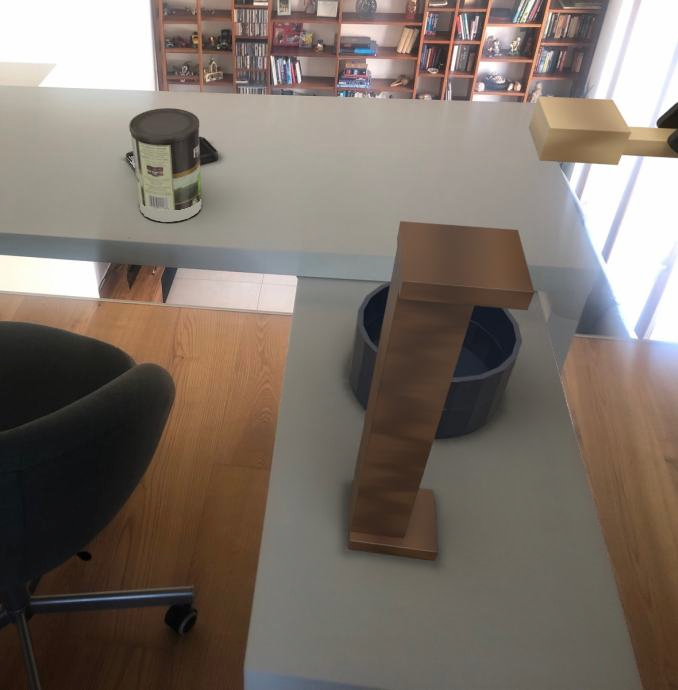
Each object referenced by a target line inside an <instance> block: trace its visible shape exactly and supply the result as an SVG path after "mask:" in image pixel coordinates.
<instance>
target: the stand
mask: <svg viewBox="0 0 678 690" xmlns="http://www.w3.org/2000/svg"><path fill="white" fill-rule="evenodd" d="M390 277H391V278H390V281H389V282H390V288H389V293H388V298H387V304H386V309H385V314H384V320H383V325H382V330H381V335H380V341H379V346H378V351H377V357H376V362H375V367H374V372H373V378H372V383H371V388H370V394H369V399H368V404H367V410H365V416H364V421H363V425H362V431H361V436H360V440H359V441H360V442H359V447H358V452H357V458H356V464H355V468H354V473H353V478H352V480H351V483H350V487H349V488H350V489H349V492H350V493H349V513H348V515H349V518H348V541H347V543H348V544H347V549H349V550H355V551H361V552H369V553H376V554H383V555H391V556H397V557H406V558H413V559H420V560H427V561H436V559H437V556H438V553H439V552H438V550H439V549H438V538H437V536H438V535H437V524H436V508H435V494H434V490H433V489H427V488H421V487H420V486H421V484H422V480H423V477H424V474H425V470H426V467H427V464H428V461H429V458H430V453H431V451H432V447H433V444H434V441H435V438H434V437H435V434H436V431H437V427H438V424H439V421H440V417H441V414H442V411H443V408H444V404H445V401H446V398H447V394H448V391H449V388H450V384H451V381H452V378H453V374H454V371H455V368H456V364H457V361H458V358H459V354H460V351H461V348H462V344H463V341H464V338H465V334H466V331H467V328H468V324H469V321H470V318H471V315H472V311H473V308H474V306H484V307H496V308H507V309H508V310H518V311H519V310H520V311H528V310H529V308H530V306H531V302H532V300H533V297H534V294H535V289H534V285H533V281H532V277H531V274H530V270H529V266H528V263H527V258H526V255H525V251H524V247H523V243H522V239H521V236H520V231H519V230H518V229H511V228H500V227H499V228H498V227H485V226H472V225H458V224H457V225H456V224H445V223H444V224H443V223H432V222H431V223H430V222H416V221H405V220H402V221H401V220H400V222H399V225H398V231H397V236H396V252H395V257H394V262H393V268H392V273H391V276H390Z"/></svg>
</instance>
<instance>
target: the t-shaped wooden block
mask: <svg viewBox="0 0 678 690" xmlns="http://www.w3.org/2000/svg"><path fill="white" fill-rule="evenodd" d="M528 130H529V133H530V136H531V139H532V142H533V144H534V148H535V151H536V154H537V156H538V160H539V161H541V162H555V163H556V162H557V163H574V164H575V163H576V164H593V165H594V164H595V165H608V166H609V165H610V166H618V165H619V163H620V161H621V159H622V156H631V157H650V158H665V159H666V158H668V159H669V158H670V159H678V153H676V152H675V151H674V150H672V149H671V147H670V146H669V144H668V142H667V139H668V137H669V136H670V135H671V134H672V133H673V132H674V131H675V130H677V129H667V128H658V127H649V126H648V127H646V126H645V127H644V126H629V125H628V124H627V122H626V120H625V118H624V117H623V115H622V113H621V111H620V109H619V108H618V106H617V105H616V103H615V101H614V100H613V99H608V98H607V99H606V98H587V97H585V98H584V97H564V96H561V97H560V96H543V95H541V96H540V95H539V96H537V98H536V101H535V105H534V109H533V112H532V116H531V118H530V122H529V125H528Z"/></svg>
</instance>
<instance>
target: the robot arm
mask: <svg viewBox="0 0 678 690" xmlns="http://www.w3.org/2000/svg"><path fill="white" fill-rule="evenodd" d="M655 124H656V128H667V129H677V130H675V131H674V132H673V133H672V134H671V135H670V136H669V137H668V139H667V142H668V144H669V146H670V147H671V149H672V150H674V151H675V152H676V153H678V101H676V102H675V103H674V104H673V105H672V106H670V108H669V109H667V110H666V112H664V113H663V114H662V115H661V116H659V117H658V119H657V120H656V122H655Z"/></svg>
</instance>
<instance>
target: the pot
mask: <svg viewBox="0 0 678 690" xmlns="http://www.w3.org/2000/svg"><path fill="white" fill-rule="evenodd" d="M390 282H391V281H388V282H385V283H382V284H380V285H378V286H377V287H376V288H375V289H373V290H372V291H370V292H369V293H368V294H367V295H366V296H365V297H364V298H363V301H361V304H360V305H359V307H358V310H357V316H356V323H355V328H354V336H353V342H352V348H351V354H350V361H349V372H348V373H349V374H348V375H349V376H348V377H349V385H350V388H351V391H352V393H353V395H354V397H355V398H356V400H357V402H358V403H359V404H360V405H361V407H362V408H363V409H364V410H365V411H366V410H367V404H368V399H369V394H370V388H371V383H372V378H373V372H374V367H375V362H376V357H377V351H378V346H379V341H380V335H381V330H382V325H383V320H384V314H385V309H386V304H387V298H388V293H389V288H390ZM522 343H523V338H522V334H521V330H520V325H519V323H518V321H517V320H516V318H515V316H514V315H513V314H512V313H511V312H510V309H507V308H496V307H484V306H474V308H473V311H472V315H471V318H470V321H469V324H468V328H467V331H466V334H465V338H464V341H463V344H462V348H461V351H460V354H459V358H458V361H457V364H456V368H455V371H454V374H453V378H452V381H451V384H450V388H449V391H448V394H447V398H446V401H445V404H444V408H443V411H442V414H441V417H440V421H439V424H438V427H437V431H436V434H435V437H434V439H451V438H458V437H462V436H465V435H469V434H471V433H473V432H476V431H478V430H479V429H481V428H482V427H483V426H485V425H486V424H487V423H488V422H490V420H491V419H492V418H494V415H495V414H496V412H497V411H498V410H499V406H500V404H501V401H502V399H503V396H504V393H505V391H506V388H507V385H508V383H509V380H510V377H511V375H512V373H513V369H514V367H515V365H516V362H517V359H518V357H519V353H520V350H521V346H522Z"/></svg>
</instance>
